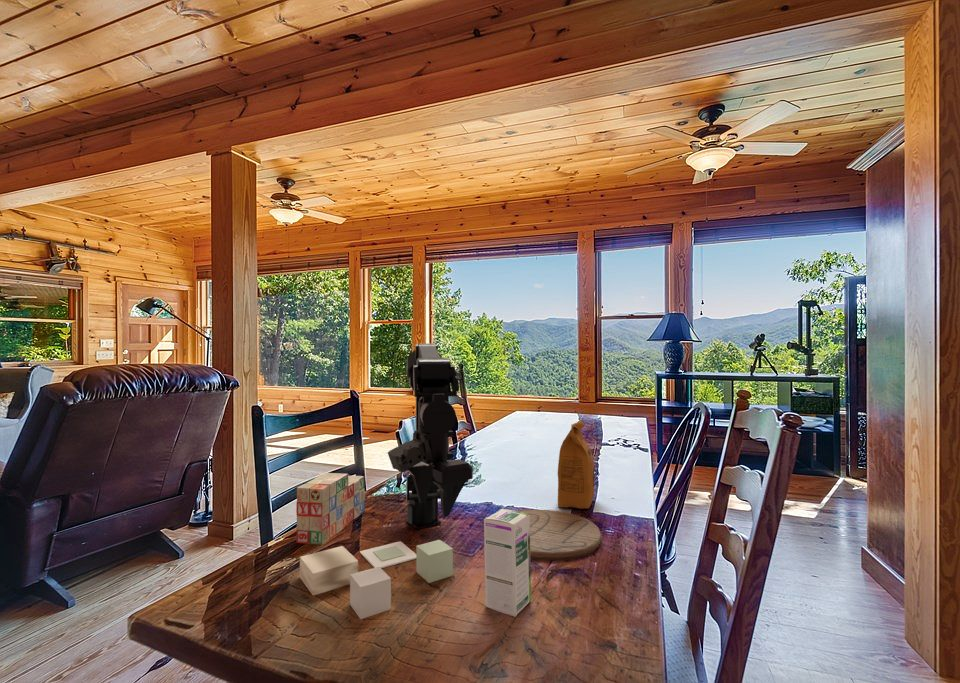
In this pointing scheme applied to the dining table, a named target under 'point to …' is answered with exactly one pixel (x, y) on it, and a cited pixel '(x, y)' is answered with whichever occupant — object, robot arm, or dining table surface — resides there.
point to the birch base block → (327, 569)
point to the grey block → (370, 592)
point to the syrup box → (507, 561)
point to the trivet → (561, 535)
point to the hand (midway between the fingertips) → (433, 509)
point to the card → (388, 555)
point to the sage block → (434, 560)
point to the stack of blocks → (328, 506)
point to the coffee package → (575, 471)
